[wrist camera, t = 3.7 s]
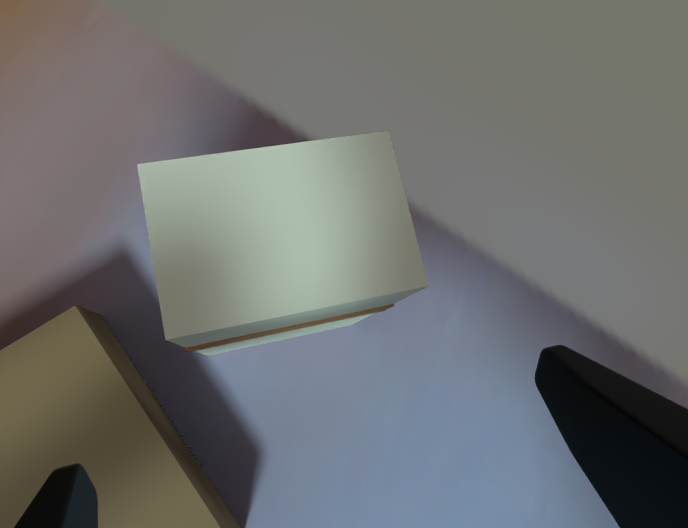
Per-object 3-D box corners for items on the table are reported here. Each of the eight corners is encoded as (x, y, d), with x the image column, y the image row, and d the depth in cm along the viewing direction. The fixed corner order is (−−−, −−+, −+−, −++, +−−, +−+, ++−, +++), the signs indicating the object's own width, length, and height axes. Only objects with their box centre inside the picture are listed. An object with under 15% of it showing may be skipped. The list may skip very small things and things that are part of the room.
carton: (352, 325, 22) (430, 287, 12) (206, 357, 20) (162, 342, 11) (332, 233, 22) (390, 128, 13) (189, 258, 21) (134, 162, 11)
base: (244, 532, 19) (242, 560, 16) (-16, 739, 17) (-72, 815, 14) (101, 314, 20) (75, 305, 17) (-169, 480, 17) (-253, 502, 15)
